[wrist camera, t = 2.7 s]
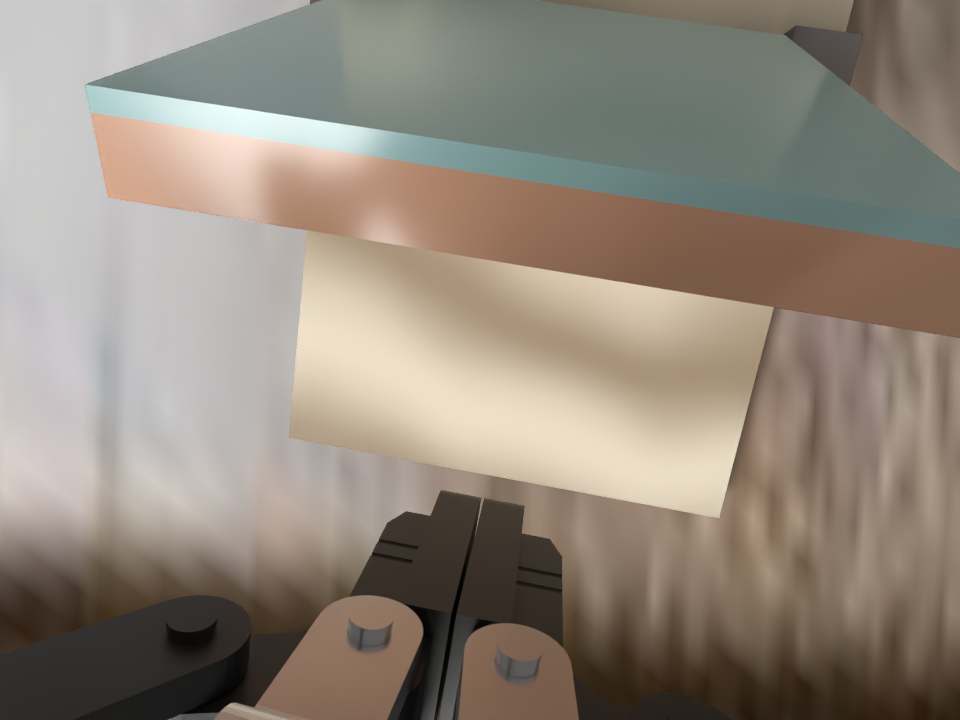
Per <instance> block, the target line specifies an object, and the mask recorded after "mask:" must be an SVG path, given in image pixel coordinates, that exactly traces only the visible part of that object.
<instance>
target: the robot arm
mask: <svg viewBox="0 0 960 720" xmlns="http://www.w3.org/2000/svg"><path fill="white" fill-rule="evenodd" d="M480 502H481V498H480V497H475V496H470V495H464V494H459V493H454V492H449V491H443V490H441V491H440V493H439V496H438V498H437V501H436V504H435V506H434V509H433V511H432V514H431V516H427V515H422V514H417V513H412V512H407V511H406V512H404V513H403V514H401V515H400V516H398V517H396V518H395V519H393V520H391V521H390V522H388V523H387V525H386V527H385V529H384V531H383V533H382V534H381V536H380V538H379V542H377V544H376V546H375V548H374V550H373V552H372V556H370V558H369V560H368V562H367V564H366V566H365V568H364V569H363V571H362V573H361V575H360V577H359V579H358V581H357V583H356V585H355V587H354V589H353V591H352V593H351V595H350V597H348V598H344V599H341V600H338V601H336V602H334V603H332V604H330V605H329V606H328V607H326V608H325V609H324V610H323V611H322V612H321V614H320V615H319V616H318V618H317V619H316V620H315V622H314V623H313V625H312V626H311V628H310V629H309V630H307V631H303V632H297V633H289V634H254V635H251V620H250V617H249V615H248V614H247V612H246V611H245V610H244V609H243V608H242V607H240V606H239V605H237V604H236V603H234V602H232V601H229V600H227V599H223V598H219V597H214V596H200V595H197V596H186V597H180V598H175V599H172V600H168V601H165V602H162V603H159V604H155V605H152V606H149V607H146V608H143V609H140V610H137V611H134V612H131V613H127V614H124V615H121V616H118V617H115V618H112V619H109V620H106V621H102V622H99V623H96V624H93V625H90V626H87V627H84V628H81V629H78V630H74V631H71V632H68V633H65V634H62V635H59V636H56V637H53V638H50V639H46V640H43V641H40V642H37V643H34V644H31V645H28V646H25V647H22V648H18V649H15V650H12V651H9V652H6V653H3V654H0V720H437V716H438V711H439V707H440V703H441V698H442V694H443V698H442V704H441V710H440V717H439V720H731V719H730V718H728V717H727V716H726V715H725V714H723V713H722V712H721V711H719V710H717V709H716V708H714V707H713V706H711V705H709V704H707V703H705V702H703V701H701V700H698V699H696V698H693V697H690V696H687V695H683V694H678V693H668V692H662V693H654V694H650V695H647V696H645V697H643V698H642V699H640V700H639V701H638V702H637V703H636V704H635V706H634V707H633V710H632V712H631V711H629V710H626V709H624V708H622V707H620V706H618V705H615V704H613V703H611V702H609V701H607V700H605V699H603V698H601V697H599V696H597V695H596V694H594V693H593V692H591V691H590V690H588V689H587V688H586V687H585V686H583V685H582V684H581V683H580V682H579V681H578V680H577V679H576V678H575V677H574V675H573V673H572V666H571V662H570V659H569V657H568V655H567V653H566V652H565V650H564V649H563V616H562V556H561V555H560V553H559V552H558V550H557V549H556V547H555V546H554V545H553V543H552V542H551V540H550V539H547V538H542V537H537V536H531V535H526V534H521V533H522V524H523V515H524V506H523V505H517V504H512V503H507V502H502V501H496V500H491V499H486V498H484V502H483V506H482V510H481V514H480V518H479V522H478V527H477V521H478V515H479V509H480ZM476 527H477V531H476ZM475 533H476V535H475ZM444 685H445V686H444ZM443 690H444V692H443Z"/></svg>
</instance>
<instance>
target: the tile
mask: <svg viewBox="0 0 960 720" xmlns="http://www.w3.org/2000/svg"><path fill="white" fill-rule="evenodd" d="M85 88H86V93H87V98H88V102H89V107H90V112H91V117H92V122H93V127H94V132H95V136H96V141H97V146H98V151H99V156H100V161H101V166H102V170H103V175H104V180H105V185H106V190H107V195H108V197H109V198H115V199H121V200H127V201H133V202H139V203H145V204H151V205H158V206H164V207H170V208H176V209H182V210H188V211H194V212H200V213H206V214H212V215H218V216H224V217H230V218H236V219H242V220H248V221H254V222H260V223H267V224H273V225H279V226H285V227H291V228H297V229H303V230H309V231H315V232H321V233H327V234H333V235H339V236H345V237H351V238H357V239H363V240H369V241H375V242H382V243H388V244H394V245H400V246H406V247H412V248H418V249H424V250H430V251H436V252H442V253H448V254H454V255H460V256H466V257H472V258H478V259H484V260H490V261H497V262H503V263H509V264H515V265H521V266H527V267H533V268H539V269H545V270H551V271H557V272H563V273H569V274H575V275H581V276H587V277H593V278H599V279H606V280H612V281H618V282H624V283H630V284H636V285H642V286H648V287H654V288H660V289H666V290H672V291H678V292H684V293H690V294H696V295H702V296H708V297H714V298H721V299H727V300H733V301H739V302H745V303H751V304H757V305H763V306H769V307H775V308H781V309H787V310H793V311H799V312H805V313H811V314H817V315H823V316H830V317H836V318H842V319H848V320H854V321H860V322H866V323H872V324H878V325H884V326H890V327H896V328H902V329H908V330H914V331H920V332H926V333H932V334H938V335H945V336H951V337H957V338H960V173H959V172H958V171H956V170H955V169H954V168H953V167H951V166H950V165H949V164H948V163H946V162H945V161H944V160H942V159H941V158H940V157H939V156H937V155H936V154H935V153H934V152H932V151H931V150H930V149H929V148H927V147H926V146H925V145H923V144H922V143H921V142H920V141H918V140H917V139H916V138H915V137H913V136H912V135H911V134H910V133H908V132H907V131H906V130H904V129H903V128H902V127H901V126H899V125H898V124H897V123H896V122H894V121H893V120H892V119H891V118H889V117H888V116H887V115H885V114H884V113H883V112H882V111H880V110H879V109H878V108H877V107H875V106H874V105H873V104H872V103H870V102H869V101H868V100H867V99H865V98H864V97H863V96H861V95H860V94H859V93H858V92H856V91H855V90H854V89H853V88H851V87H850V86H849V85H848V84H846V83H845V82H844V81H842V80H841V79H840V78H839V77H837V76H836V75H835V74H834V73H832V72H831V71H830V70H829V69H827V68H826V67H825V66H823V65H822V64H821V63H820V62H818V61H817V60H816V59H815V58H813V57H812V56H811V55H810V54H808V53H807V52H806V51H804V50H803V49H802V48H801V47H799V46H798V45H797V44H796V43H794V42H793V41H792V40H791V39H789V38H788V37H787V36H786V35H783V34H776V33H768V32H761V31H754V30H747V29H739V28H732V27H725V26H718V25H710V24H703V23H696V22H689V21H681V20H674V19H667V18H660V17H652V16H645V15H638V14H631V13H624V12H616V11H609V10H602V9H595V8H587V7H580V6H573V5H566V4H558V3H551V2H544V1H537V0H321V1H318V2H315V3H312V4H310V5H307V6H304V7H301V8H298V9H296V10H293V11H290V12H287V13H284V14H282V15H279V16H276V17H273V18H270V19H267V20H265V21H262V22H259V23H256V24H253V25H251V26H248V27H245V28H242V29H239V30H237V31H234V32H231V33H228V34H225V35H223V36H220V37H217V38H214V39H211V40H208V41H206V42H203V43H200V44H197V45H194V46H192V47H189V48H186V49H183V50H180V51H178V52H175V53H172V54H169V55H166V56H163V57H161V58H158V59H155V60H152V61H149V62H147V63H144V64H141V65H138V66H135V67H133V68H130V69H127V70H124V71H121V72H119V73H116V74H113V75H110V76H107V77H104V78H102V79H99V80H96V81H93V82H90V83H88V84H85Z"/></svg>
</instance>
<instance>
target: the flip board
mask: <svg viewBox="0 0 960 720" xmlns="http://www.w3.org/2000/svg"><path fill="white" fill-rule="evenodd" d="M318 1H321V0H310V4H312V3H315V2H318ZM537 1H544V2H551V3H558V4H566V5H573V6H580V7H587V8H595V9H602V10H609V11H616V12H624V13H631V14H638V15H645V16H652V17H660V18H667V19H674V20H681V21H689V22H696V23H703V24H710V25H718V26H725V27H732V28H739V29H747V30H754V31H761V32H768V33H776V34H783V35H786V36H787V37H788V38H789V39H791V40H792V41H793V42H794V43H796V44H797V45H798V46H799V47H801V48H802V49H803V50H804V51H806V52H807V53H808V54H810V55H811V56H812V57H813V58H815V59H816V60H817V61H818V62H820V63H821V64H822V65H823V66H825V67H826V68H827V69H829V70H830V71H831V72H832V73H834V74H835V75H836V76H837V77H839V78H840V79H841V80H842V81H844V82H845V83H846V84H848V85H850V82H851V78H852V74H853V70H854V67H855V63H856V59H857V55H858V52H859V48H860V44H861V40H862V37H863V34H857V33H849V32H846V29H847V25H848V21H849V17H850V14H851V10H852V6H853V2H854V0H537ZM773 309H774V307H769V306H763V305H757V304H751V303H745V302H739V301H733V300H727V299H721V298H714V297H708V296H702V295H696V294H690V293H684V292H678V291H672V290H666V289H660V288H654V287H648V286H642V285H636V284H630V283H624V282H618V281H612V280H606V279H599V278H593V277H587V276H581V275H575V274H569V273H563V272H557V271H551V270H545V269H539V268H533V267H527V266H521V265H515V264H509V263H503V262H497V261H490V260H484V259H478V258H472V257H466V256H460V255H454V254H448V253H442V252H436V251H430V250H424V249H418V248H412V247H406V246H400V245H394V244H388V243H382V242H375V241H369V240H363V239H357V238H351V237H345V236H339V235H333V234H327V233H321V232H315V231H309V230H307V239H306V250H305V261H304V272H303V284H302V295H301V306H300V317H299V328H298V340H297V351H296V362H295V373H294V385H293V396H292V407H291V418H290V429H289V438H294V439H299V440H304V441H310V442H315V443H320V444H326V445H331V446H336V447H342V448H347V449H352V450H358V451H363V452H368V453H374V454H379V455H385V456H390V457H395V458H401V459H406V460H411V461H417V462H422V463H427V464H433V465H438V466H443V467H449V468H454V469H459V470H465V471H470V472H475V473H481V474H486V475H491V476H497V477H502V478H508V479H513V480H518V481H524V482H529V483H534V484H540V485H545V486H550V487H556V488H561V489H566V490H572V491H577V492H582V493H588V494H593V495H598V496H604V497H609V498H614V499H620V500H625V501H631V502H636V503H641V504H647V505H652V506H657V507H663V508H668V509H673V510H679V511H684V512H689V513H695V514H700V515H705V516H711V517H716V518H719V516H720V512H721V508H722V505H723V501H724V497H725V493H726V489H727V485H728V482H729V478H730V474H731V470H732V466H733V462H734V459H735V455H736V451H737V447H738V443H739V439H740V436H741V432H742V428H743V424H744V420H745V416H746V413H747V409H748V405H749V401H750V397H751V393H752V390H753V386H754V382H755V378H756V374H757V370H758V366H759V363H760V359H761V355H762V351H763V347H764V343H765V340H766V336H767V332H768V328H769V324H770V320H771V317H772V313H773Z"/></svg>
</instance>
